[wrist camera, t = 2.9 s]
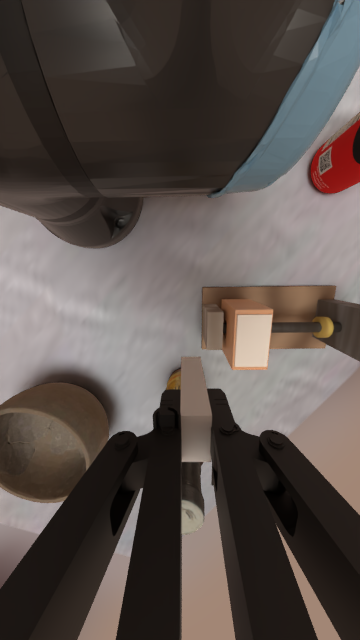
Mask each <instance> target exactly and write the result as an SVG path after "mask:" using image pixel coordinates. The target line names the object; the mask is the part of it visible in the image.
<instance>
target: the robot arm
mask: <svg viewBox="0 0 360 640" xmlns="http://www.w3.org/2000/svg"><path fill="white" fill-rule="evenodd" d="M359 66H360V0H0V205H1V206H4V207H6V208H9V209H12V210H15V211H18V212H21V213H24V214H27V215H30V216H33V217H35V218H36V219H38V220H39V221H40V222H41V223H42V224H43V225H44V226H45V227H46V228H47V229H48V230H49V231H50V232H51V233H52V234H54V235H55V236H57V237H58V238H60V239H62V240H64V241H66V242H68V243H70V244H73V245H77V246H81V247H85V248H95V249H96V248H104V247H108V246H111V245H114V244H116V243H118V242H119V241H121V240H122V239H123V238H125V237H126V236H127V235H128V234H129V233H130V231H131V230H132V229H133V227H134V226H135V224H136V222H137V220H138V218H139V216H140V213H141V209H142V204H143V197H157V196H201V195H206V196H207V197H208V198H216V197H220V196H222V195H223V194H227V193H238V192H250V191H257V190H261V189H263V188H266V187H268V186H270V185H271V184H272V183H273V182H275V181H276V180H277V179H278V178H280V177H281V176H283V175H284V174H286V173H287V172H288V171H289V170H290V169H291V168H292V167H293V166H294V165H295V164H296V163H297V162H298V161H299V159H300V158H301V157H302V156H303V155H304V154H305V152H306V151H307V150H308V149H309V147H310V146H311V145H312V143H313V142H314V141H315V139H316V138H317V136H318V135H319V134H320V132H321V131H322V129H323V128H324V126H325V125H326V123H327V122H328V120H329V118H330V117H331V115H332V114H333V112H334V110H335V109H336V107H337V105H338V104H339V102H340V100H341V99H342V97H343V95H344V93H345V92H346V90H347V88H348V86H349V84H350V83H351V81H352V79H353V77H354V75H355V73H356V71H357V70H358V68H359ZM153 427H154V429H153V430H152V431H151V432H149V433H148V434H145V435H142V436H139V437H136V435H135V434H134V433H132V432H130V431H122V432H118V433H117V434H115V435H113V436H112V437H111V438H110V439H109V440H108V442H107V443H106V444H105V446H104V447H103V449H102V450H101V451H100V453H99V454H98V455H97V457H96V458H95V460H94V461H93V462H92V464H91V465H90V466H89V468H88V469H87V471H86V472H85V473H84V475H83V476H82V477H81V479H80V480H79V482H78V483H77V484H76V486H75V487H74V488H73V490H72V491H71V493H70V494H69V495H68V497H67V498H66V499H65V501H64V502H63V504H62V505H61V506H60V508H59V509H58V510H57V512H56V513H55V515H54V516H53V517H52V519H51V520H50V521H49V523H48V524H47V526H46V527H45V528H44V530H43V531H42V532H41V534H40V535H39V537H38V538H37V539H36V541H35V542H34V543H33V545H32V547H31V548H30V549H29V550H28V552H27V553H26V555H25V556H24V557H23V559H22V560H21V561H20V563H19V564H18V565H17V567H16V568H15V570H14V571H13V572H12V574H11V575H10V576H9V578H8V579H7V581H6V582H5V583H4V585H3V586H2V587H1V589H0V640H77V639H78V636H79V634H80V632H81V629H82V627H83V625H84V622H85V620H86V617H87V615H88V613H89V610H90V608H91V606H92V603H93V601H94V598H95V596H96V593H97V591H98V589H99V586H100V584H101V582H102V579H103V577H104V575H105V572H106V570H107V567H108V565H109V563H110V560H111V558H112V556H113V553H114V551H115V548H116V546H117V544H118V541H119V539H120V536H121V534H122V532H123V529H124V527H125V525H126V522H127V520H128V517H129V515H130V513H131V510H132V508H133V506H134V503H135V501H136V498H137V496H138V494H139V491H140V488H143V492H142V497H141V503H140V508H139V514H138V519H137V525H136V530H135V536H134V542H133V547H132V553H131V558H130V564H129V569H128V575H127V581H126V586H125V592H124V597H123V604H122V608H121V614H120V619H119V625H118V630H117V636H116V640H181V613H182V609H181V607H182V604H181V603H182V602H181V601H182V592H181V591H182V462H211V459H212V485H214V491H215V498H216V505H217V512H218V518H219V526H220V533H221V540H222V547H223V554H224V561H225V569H226V575H227V582H228V590H229V596H230V604H231V611H232V618H233V624H234V632H235V638H236V640H318V639H317V636H316V633H315V631H314V628H313V625H312V622H311V620H310V617H309V614H308V611H307V608H306V606H305V603H304V600H303V597H302V595H301V592H300V589H299V587H298V584H297V581H296V578H295V576H294V573H293V570H292V568H291V565H290V562H289V559H288V556H287V554H286V551H285V548H284V546H283V543H282V540H281V537H280V535H279V532H278V529H277V527H278V528H279V530H280V532H281V534H282V536H283V537H284V539H285V541H286V543H287V544H288V546H289V548H290V550H291V551H292V553H293V555H294V557H295V559H296V560H297V562H298V564H299V566H300V568H301V569H302V571H303V573H304V575H305V576H306V578H307V580H308V582H309V583H310V585H311V587H312V589H313V590H314V592H315V594H316V596H317V598H318V599H319V601H320V603H321V605H322V606H323V608H324V610H325V612H326V614H327V615H328V617H329V619H330V620H331V622H332V624H333V626H334V628H335V629H336V631H337V633H338V635H339V637H340V638H341V640H360V515H359V514H358V513H357V512H356V511H355V510H354V509H353V508H352V507H351V506H350V505H349V503H348V502H347V501H346V500H345V499H344V498H343V497H342V496H341V495H340V494H339V493H338V492H337V490H335V488H334V487H333V486H332V485H331V484H330V483H329V482H328V481H327V480H326V479H325V478H324V476H323V475H322V474H321V473H320V472H319V471H318V470H317V469H316V468H315V467H314V466H313V465H312V463H311V462H309V460H308V459H307V458H306V457H305V456H304V455H303V454H302V453H301V452H300V451H299V449H298V448H297V447H296V446H295V445H294V444H293V443H292V442H291V441H290V440H289V439H288V438H287V437H286V436H285V435H283V434H281V433H279V432H277V431H273V430H266V431H264V432H262V433H261V435H260V437H259V436H255V435H251V434H248V433H246V432H244V431H242V430H241V428H240V427H239V425H238V424H236V423H235V421H234V418H233V416H232V413H231V410H230V407H229V405H228V401H227V398H226V395H225V393H224V392H223V391H222V390H221V389H207V388H206V383H205V378H204V373H203V368H202V363H201V358H200V357H181V389H166V390H165V391H164V392H163V393H162V396H161V402H160V408H158V409H157V410H156V411H155V412H154V414H153ZM275 523H276V524H275ZM276 525H277V526H276Z"/></svg>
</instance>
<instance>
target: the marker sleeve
mask: <svg viewBox="0 0 360 640" xmlns="http://www.w3.org/2000/svg"><path fill="white" fill-rule="evenodd" d="M221 310H222V311H223V312H224V318H223V323H227V328H226V333H223V342H222V350H223V352H224V354H225V356H226V358H227V360H228V362H229V364H230V366H231V368H232V370H264V369H267V366H268V357H269V347H270V338H271V328H272V319H273V309H271V308H269V307H267V306H264V305H262V304H260V303H258V302H255V301H253V300H251V299H222V303H221Z"/></svg>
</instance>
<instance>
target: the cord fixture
mask: <svg viewBox="0 0 360 640" xmlns="http://www.w3.org/2000/svg"><path fill="white" fill-rule="evenodd" d="M335 290H336V286H272V287H203V289H202V349H207V350H222V342H223V333H226V328H227V323H223V318H224V312H223V311H222V310H221V303H222V299H251V300H253V301H255V302H258V303H260V304H262V305H264V306H267V307H269V308H271V309H273V319H272V328H271V338H270V347H269V349H291V348H325V346H326V344H327V345H329V346H331V347H333V348H335V349H337V350H339V351H341V352H343V353H344V354H346V355H348V356H350V357H352V358H354V359H356V360H358V361H360V304H355V303H350V302H345V301H340V300H334V296H335Z"/></svg>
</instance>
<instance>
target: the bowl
mask: <svg viewBox="0 0 360 640" xmlns="http://www.w3.org/2000/svg"><path fill="white" fill-rule="evenodd" d="M108 437H109V426H108V419H107V415H106V412H105V410H104V408H103V406H102V405H101V403H100V402H99V401H98V400H97V399H96V397H95V396H94V395H92V394H91V393H90V392H89V391H87V390H85V389H84V388H82V387H80V386H77V385H73V384H69V383H47V384H42V385H39V386H35V387H33V388H30V389H27V390H25V391H23V392H21V393H19V394H17V395H15V396H13V397H12V398H10V399H8V400H7V401H5V402H4V403H3V404H1V405H0V487H1V488H2V489H4V490H5V491H7V492H9V493H11V494H13V495H15V496H17V497H19V498H22V499H26V500H30V501H33V502H40V503H56V502H61V501H65V499H66V498H67V497H68V495H69V494H70V493H71V491H72V490H73V488H74V487H75V486H76V484H77V483H78V482H79V480H80V479H81V477H82V476H83V475H84V473H85V472H86V471H87V469H88V468H89V466H90V465H91V464H92V462H93V461H94V460H95V458H96V457H97V455H98V454H99V453H100V451H101V450H102V449H103V447H104V446H105V444H106V443H107V442H108Z"/></svg>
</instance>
